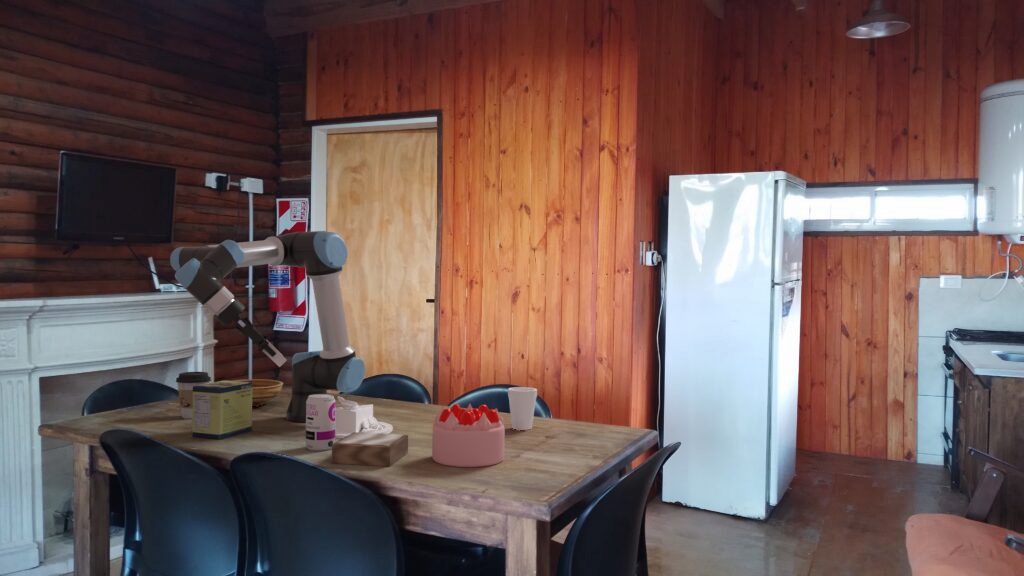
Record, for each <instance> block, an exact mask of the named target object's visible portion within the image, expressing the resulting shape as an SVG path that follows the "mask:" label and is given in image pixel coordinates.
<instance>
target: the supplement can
mask: <svg viewBox="0 0 1024 576" xmlns="http://www.w3.org/2000/svg"><path fill="white" fill-rule="evenodd" d="M335 408H337V407H336V399H335V397H334V395H333V394H331V393H330V394H329V393H327V394H315V395H310V396H309V397H308V399H307V401H306V422H305V448H307V450H309V451H313V452H322V451H323V452H324V451H330V450H332V444H333V443H335V442H336V438H335Z"/></svg>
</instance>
